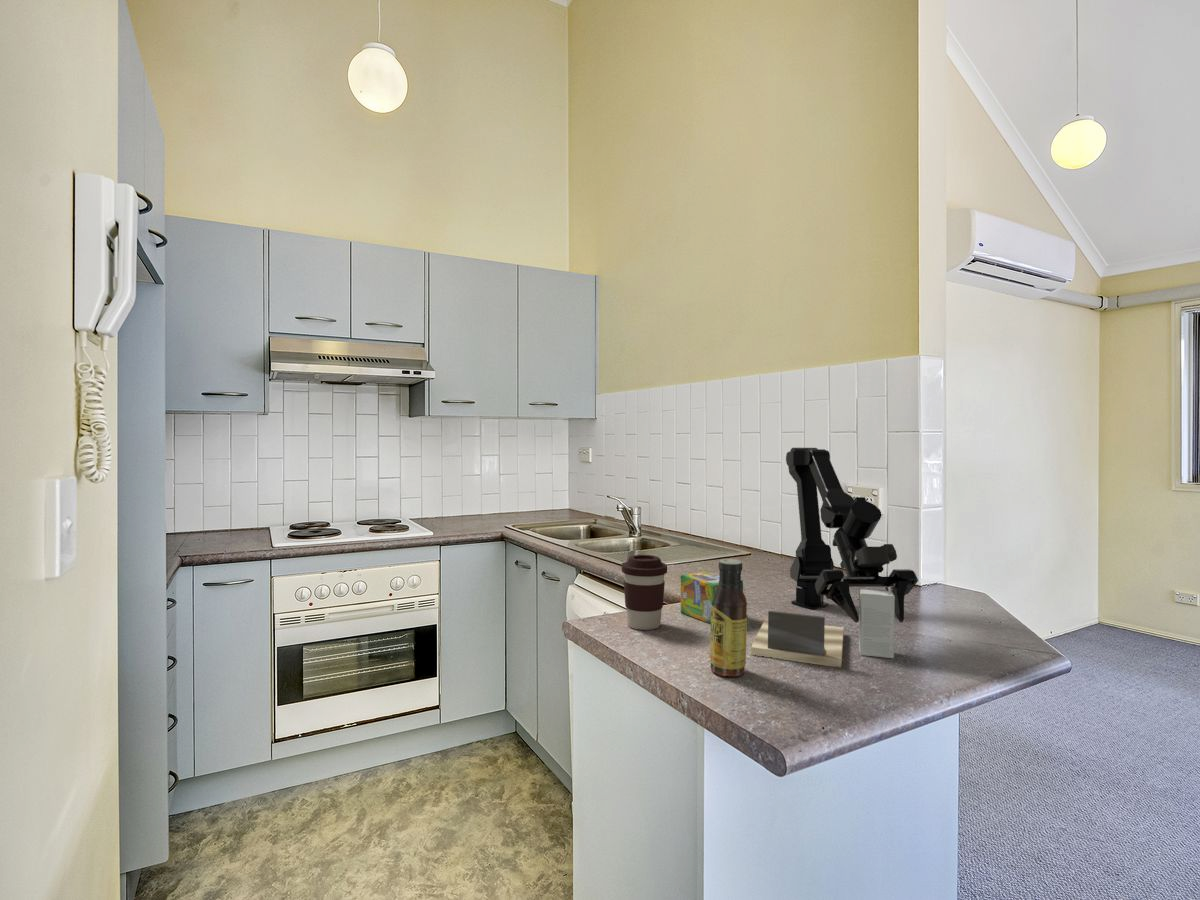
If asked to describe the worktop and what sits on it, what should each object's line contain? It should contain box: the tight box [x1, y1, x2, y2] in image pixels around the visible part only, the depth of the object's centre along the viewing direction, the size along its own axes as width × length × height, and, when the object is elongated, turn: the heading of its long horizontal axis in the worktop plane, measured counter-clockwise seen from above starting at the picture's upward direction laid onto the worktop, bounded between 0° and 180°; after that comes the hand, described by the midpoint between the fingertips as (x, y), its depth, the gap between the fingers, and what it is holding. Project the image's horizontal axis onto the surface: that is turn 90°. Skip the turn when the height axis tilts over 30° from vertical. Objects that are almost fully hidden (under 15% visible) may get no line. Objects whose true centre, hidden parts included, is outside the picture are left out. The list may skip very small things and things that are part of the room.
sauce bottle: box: [709, 558, 748, 678], centre depth 108 cm, size 7×6×20 cm
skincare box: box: [858, 588, 896, 659], centre depth 118 cm, size 6×4×12 cm
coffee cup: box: [621, 554, 668, 631], centre depth 134 cm, size 10×10×15 cm
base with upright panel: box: [750, 610, 844, 669], centre depth 123 cm, size 20×16×8 cm
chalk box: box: [680, 570, 744, 625], centre depth 140 cm, size 9×9×15 cm
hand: (879, 621), depth 117 cm, fingers open, 8 cm apart
